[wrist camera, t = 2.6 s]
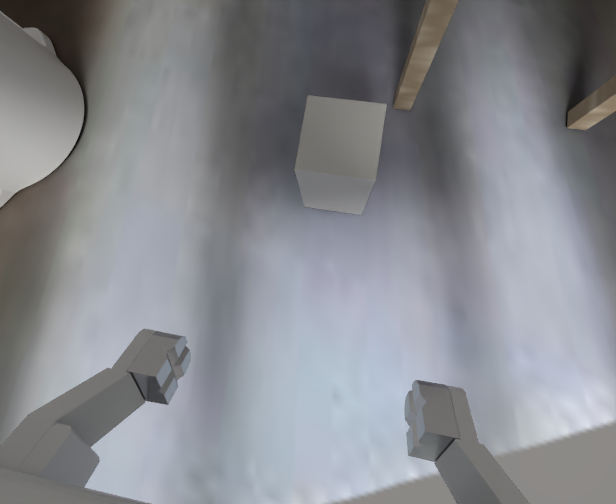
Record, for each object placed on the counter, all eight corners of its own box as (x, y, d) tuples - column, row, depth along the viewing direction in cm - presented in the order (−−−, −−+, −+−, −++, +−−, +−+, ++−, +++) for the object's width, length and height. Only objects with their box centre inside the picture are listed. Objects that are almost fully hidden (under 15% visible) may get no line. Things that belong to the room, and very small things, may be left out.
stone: (304, 206, 27) (294, 169, 19) (313, 153, 27) (307, 95, 19) (361, 215, 26) (375, 180, 18) (369, 160, 27) (386, 104, 19)
